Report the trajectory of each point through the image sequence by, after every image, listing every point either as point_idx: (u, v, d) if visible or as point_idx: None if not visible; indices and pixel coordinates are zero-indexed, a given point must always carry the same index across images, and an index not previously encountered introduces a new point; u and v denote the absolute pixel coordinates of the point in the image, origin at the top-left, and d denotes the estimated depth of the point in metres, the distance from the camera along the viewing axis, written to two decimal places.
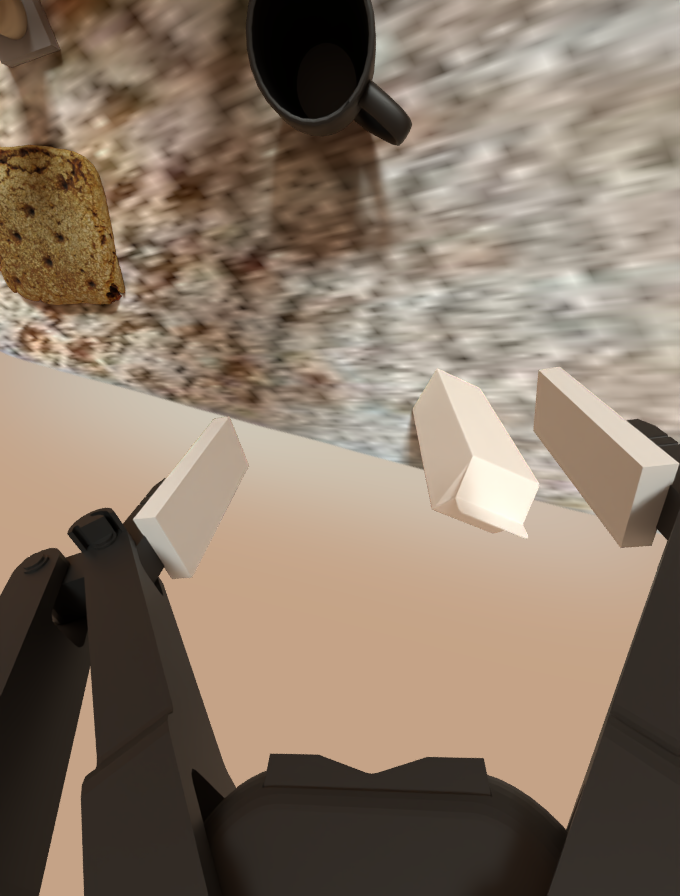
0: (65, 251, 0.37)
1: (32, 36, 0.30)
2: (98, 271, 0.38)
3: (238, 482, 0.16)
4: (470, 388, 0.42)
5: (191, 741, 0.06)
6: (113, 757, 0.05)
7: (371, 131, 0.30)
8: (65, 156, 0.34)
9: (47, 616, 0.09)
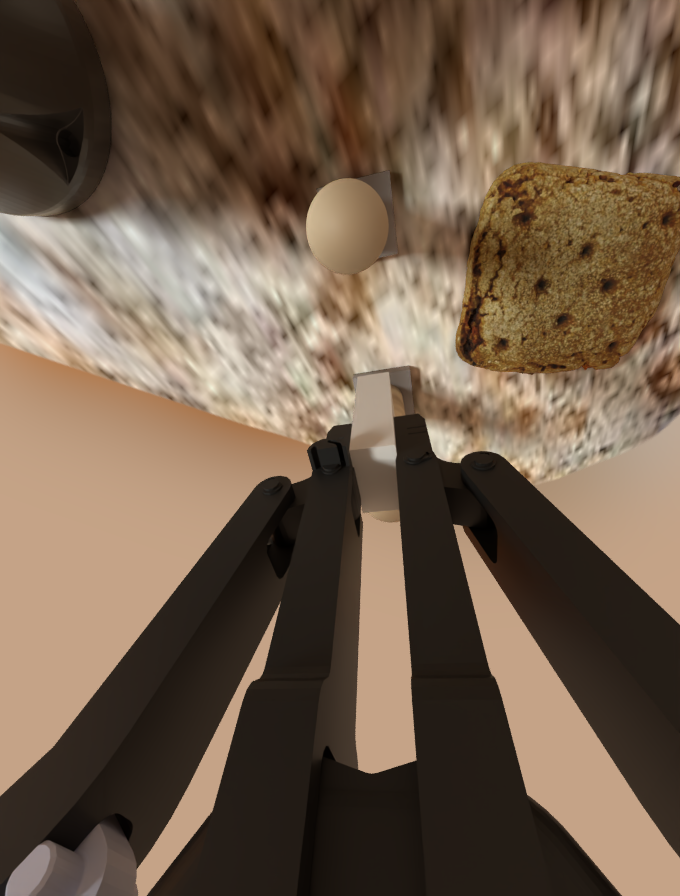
0: (610, 244, 0.25)
1: (380, 196, 0.25)
2: (655, 196, 0.23)
3: None
4: None
5: (334, 709, 0.06)
6: (273, 682, 0.06)
7: None
8: (494, 203, 0.25)
9: (263, 544, 0.10)
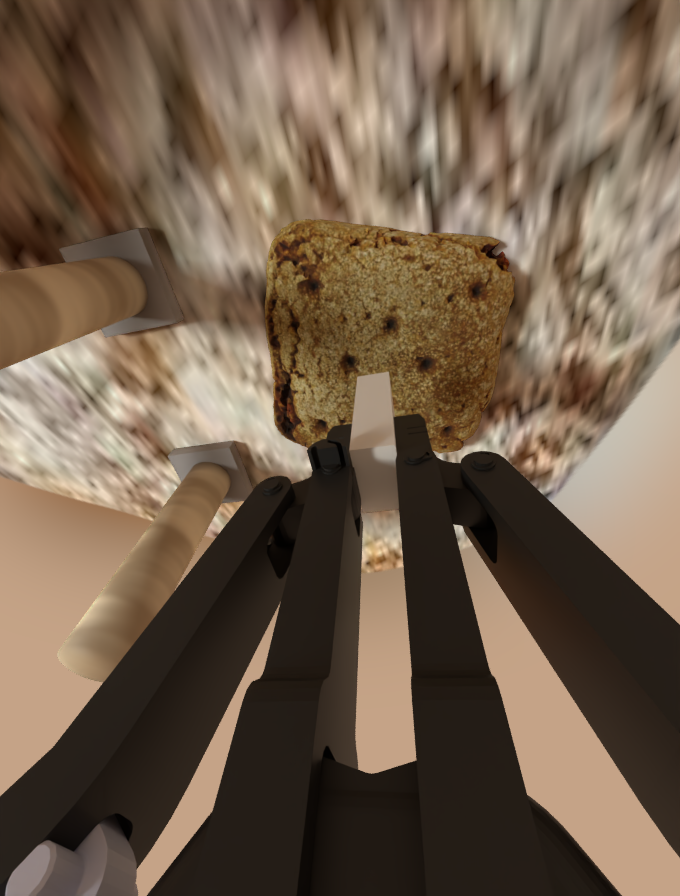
0: (413, 319, 0.20)
1: (136, 258, 0.20)
2: (456, 264, 0.18)
3: None
4: None
5: (334, 710, 0.06)
6: (273, 682, 0.06)
7: None
8: (273, 268, 0.20)
9: (263, 544, 0.10)
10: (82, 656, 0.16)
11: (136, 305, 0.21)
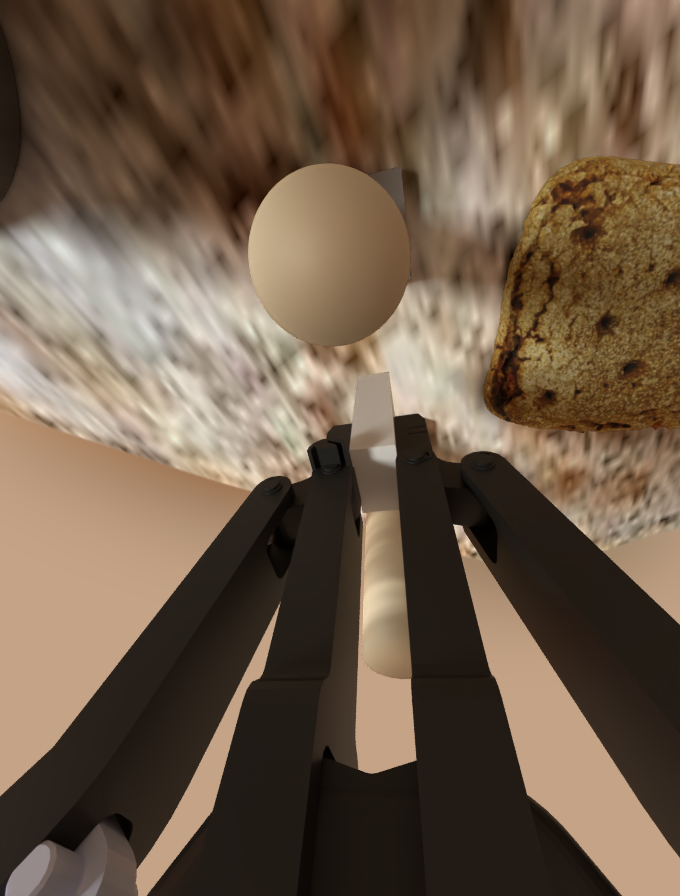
0: None
1: None
2: None
3: None
4: None
5: (334, 709, 0.06)
6: (273, 682, 0.06)
7: None
8: (546, 213, 0.18)
9: (264, 544, 0.10)
10: (396, 648, 0.14)
11: None
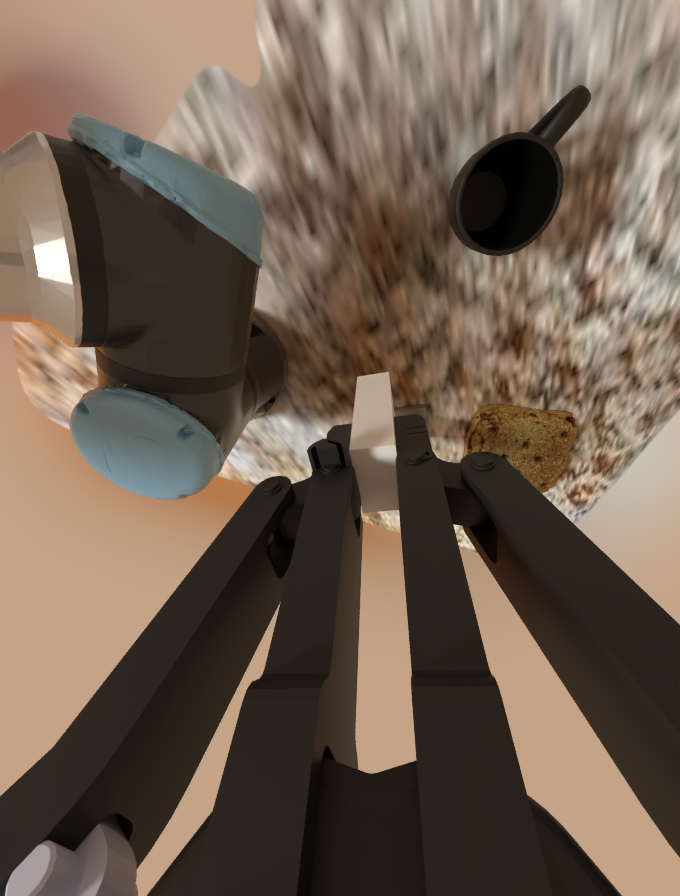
0: (536, 443, 0.49)
1: None
2: (556, 425, 0.48)
3: None
4: None
5: (334, 710, 0.06)
6: (273, 682, 0.06)
7: None
8: (478, 421, 0.49)
9: (263, 544, 0.10)
10: None
11: None
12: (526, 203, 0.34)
